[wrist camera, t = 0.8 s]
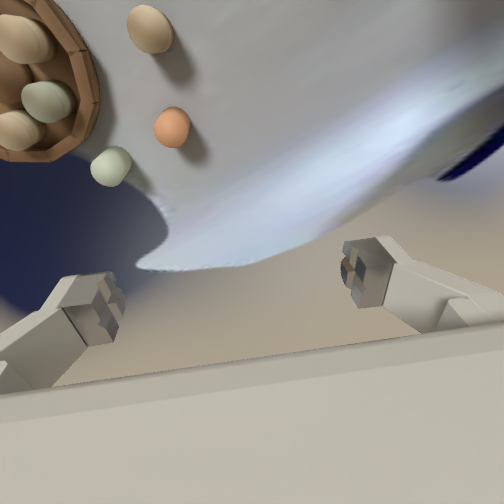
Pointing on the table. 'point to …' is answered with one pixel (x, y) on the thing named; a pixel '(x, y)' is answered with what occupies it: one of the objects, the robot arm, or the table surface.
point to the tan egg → (149, 29)
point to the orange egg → (172, 127)
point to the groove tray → (59, 68)
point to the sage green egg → (111, 166)
